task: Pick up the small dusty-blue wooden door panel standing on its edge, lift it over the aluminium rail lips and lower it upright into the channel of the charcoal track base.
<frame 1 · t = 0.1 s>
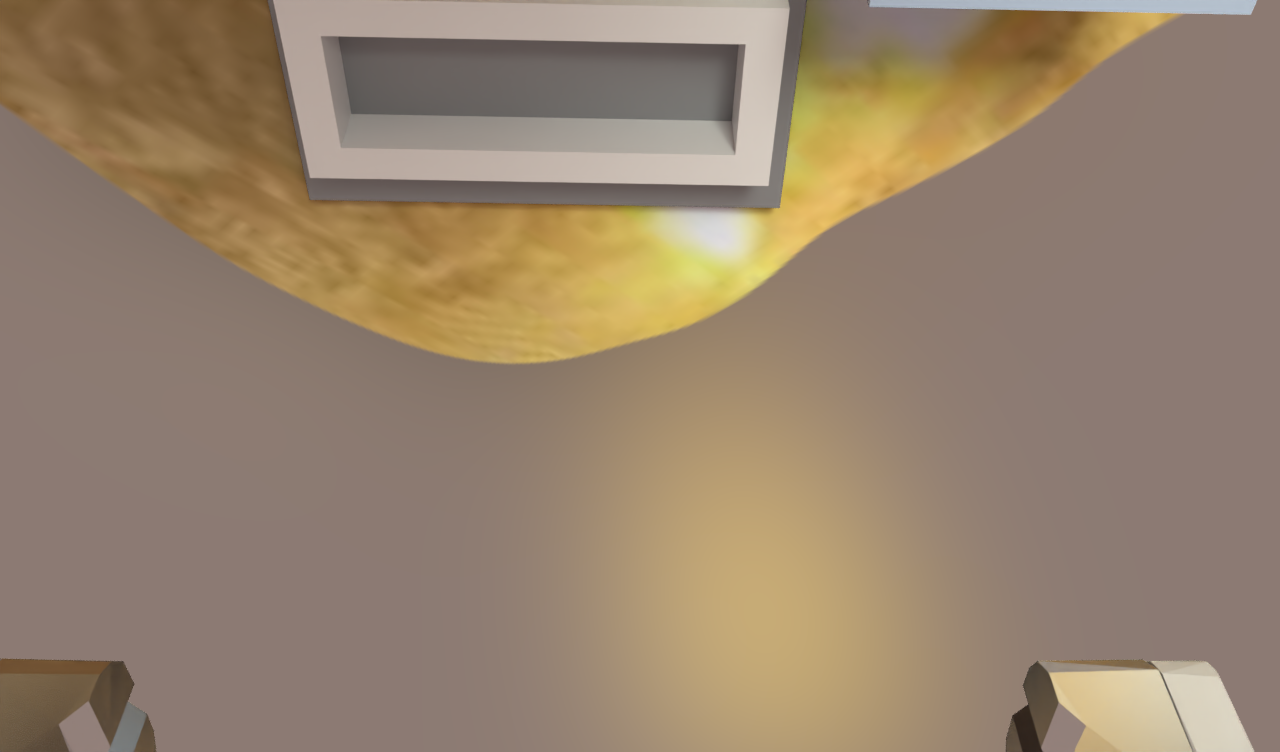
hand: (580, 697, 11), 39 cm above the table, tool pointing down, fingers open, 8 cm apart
track base: (541, 51, 49), on the table
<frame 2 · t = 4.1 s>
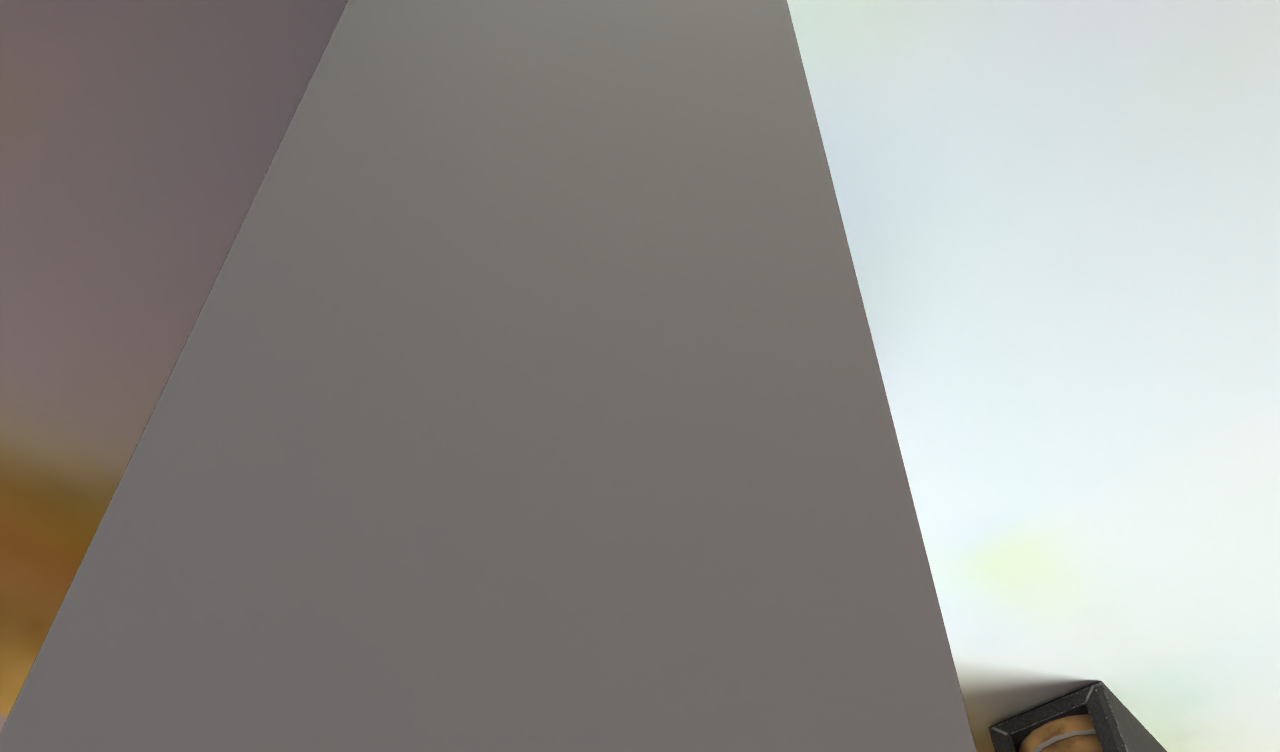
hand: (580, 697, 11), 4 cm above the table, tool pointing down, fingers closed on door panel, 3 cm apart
door panel: (593, 402, 14), on the table, touching gripper
when the fingers open (7 cm above the table, at t = 10.8 s): door panel drops 1 cm, resting on track base.
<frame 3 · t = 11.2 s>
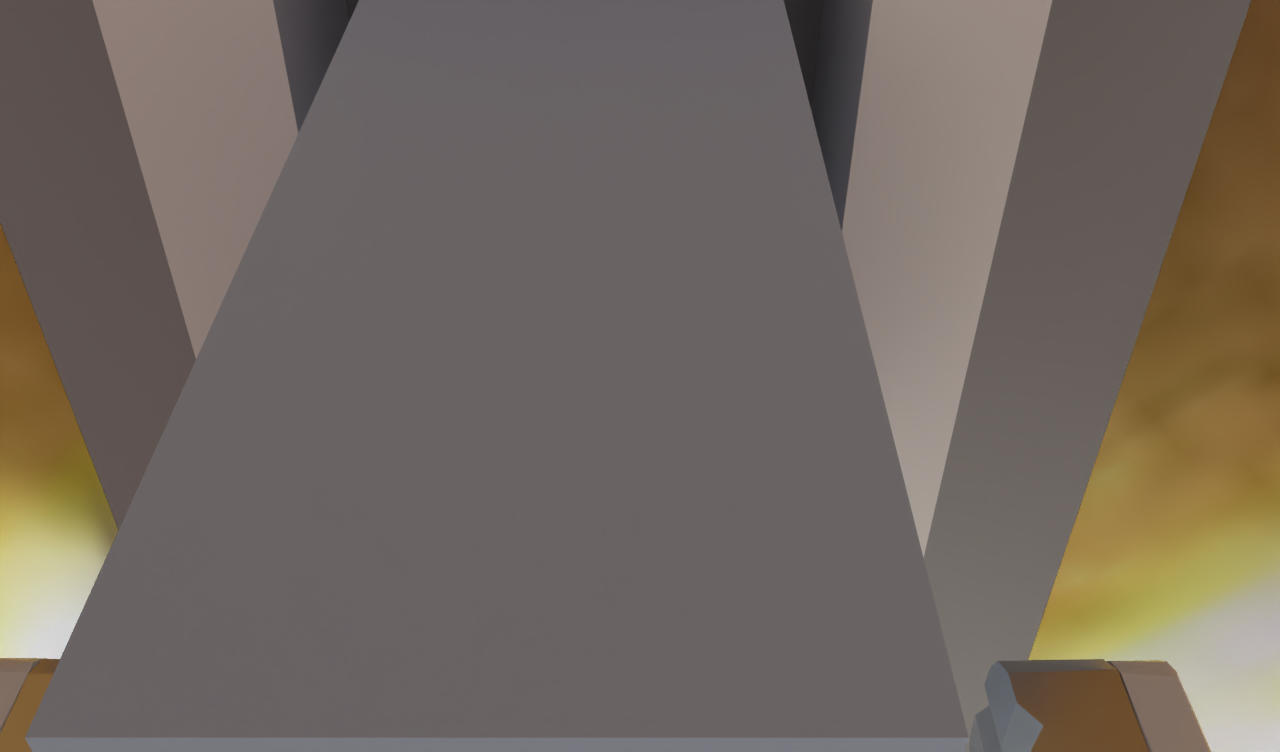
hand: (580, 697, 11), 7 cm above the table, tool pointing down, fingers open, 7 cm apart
door panel: (597, 335, 15), point 1 cm above the table, touching track base
track base: (594, 283, 16), on the table
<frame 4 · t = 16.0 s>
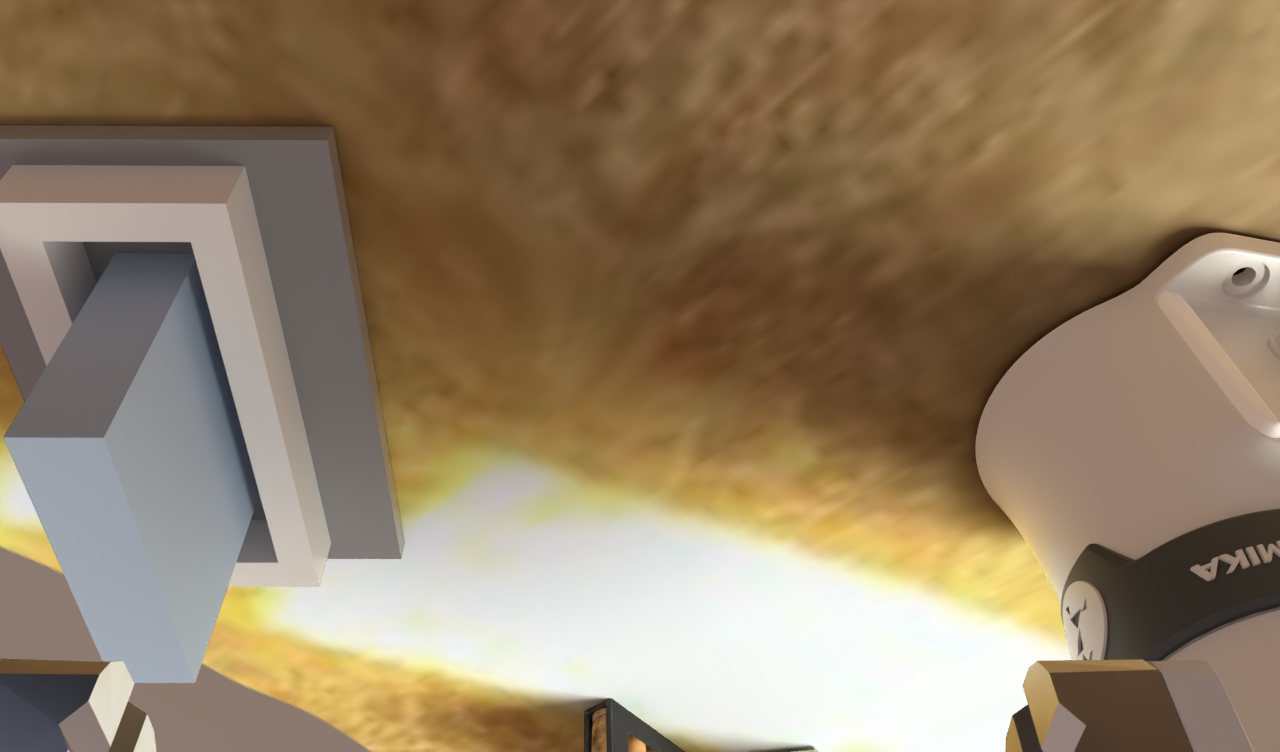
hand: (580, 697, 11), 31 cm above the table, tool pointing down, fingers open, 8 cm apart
door panel: (194, 380, 48), point 1 cm above the table, touching track base
track base: (199, 362, 48), on the table
ammunition clip: (660, 746, 66), on the table
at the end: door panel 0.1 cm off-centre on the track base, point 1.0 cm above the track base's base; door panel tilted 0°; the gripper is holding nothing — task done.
